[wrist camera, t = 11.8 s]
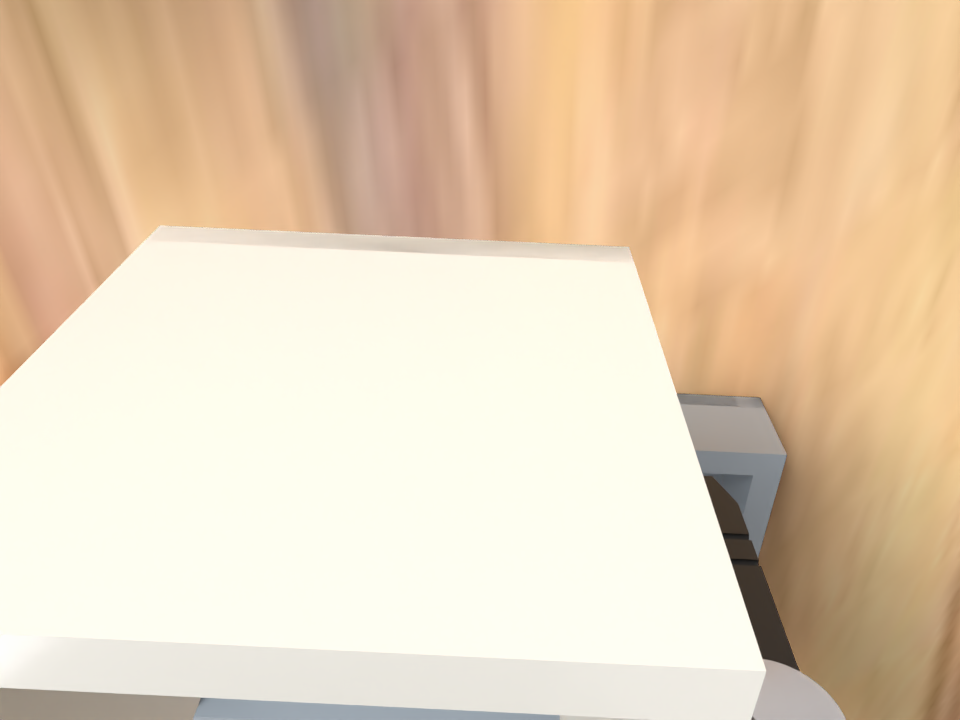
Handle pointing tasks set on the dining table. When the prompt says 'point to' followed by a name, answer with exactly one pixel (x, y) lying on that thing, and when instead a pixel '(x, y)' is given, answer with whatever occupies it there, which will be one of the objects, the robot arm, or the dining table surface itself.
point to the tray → (722, 454)
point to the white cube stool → (361, 490)
